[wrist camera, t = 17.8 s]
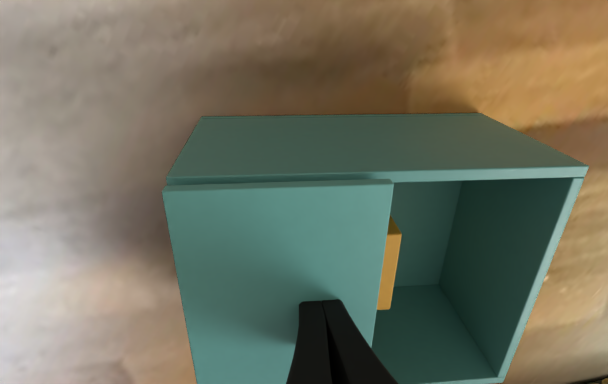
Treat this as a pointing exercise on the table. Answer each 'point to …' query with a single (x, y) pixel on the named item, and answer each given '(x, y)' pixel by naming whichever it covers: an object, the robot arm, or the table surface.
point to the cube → (389, 265)
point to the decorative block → (601, 381)
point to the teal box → (422, 220)
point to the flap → (272, 266)
